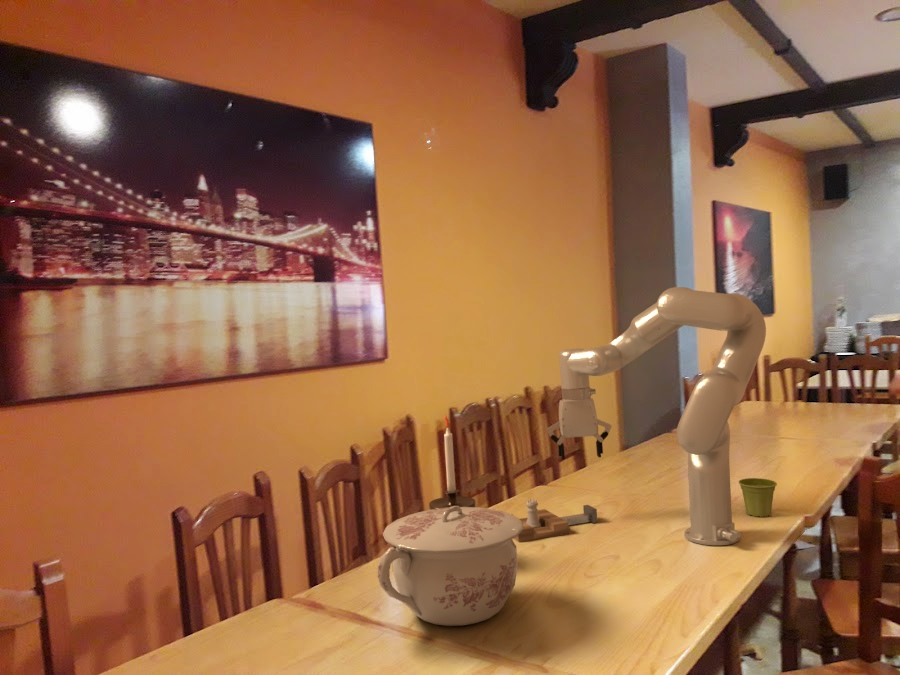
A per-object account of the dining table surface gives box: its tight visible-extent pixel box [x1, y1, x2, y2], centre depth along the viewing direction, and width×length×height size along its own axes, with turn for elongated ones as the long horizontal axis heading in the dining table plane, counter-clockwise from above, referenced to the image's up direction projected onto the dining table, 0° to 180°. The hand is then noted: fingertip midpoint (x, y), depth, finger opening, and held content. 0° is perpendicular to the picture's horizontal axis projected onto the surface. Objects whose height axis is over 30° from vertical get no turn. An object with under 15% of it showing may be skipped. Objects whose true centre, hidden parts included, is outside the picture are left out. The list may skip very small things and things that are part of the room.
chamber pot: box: [377, 506, 523, 627], centre depth 135 cm, size 28×28×21 cm
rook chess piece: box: [525, 498, 541, 529], centre depth 182 cm, size 4×4×8 cm
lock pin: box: [559, 504, 598, 526], centre depth 186 cm, size 5×11×4 cm, turn 108°
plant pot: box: [738, 477, 778, 518], centre depth 185 cm, size 9×9×9 cm
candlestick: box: [428, 414, 477, 510], centre depth 161 cm, size 11×11×35 cm
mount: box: [511, 508, 570, 543], centre depth 182 cm, size 14×14×3 cm
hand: (581, 457), depth 186 cm, fingers open, 9 cm apart
